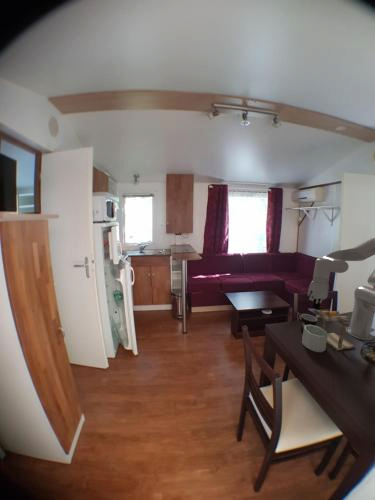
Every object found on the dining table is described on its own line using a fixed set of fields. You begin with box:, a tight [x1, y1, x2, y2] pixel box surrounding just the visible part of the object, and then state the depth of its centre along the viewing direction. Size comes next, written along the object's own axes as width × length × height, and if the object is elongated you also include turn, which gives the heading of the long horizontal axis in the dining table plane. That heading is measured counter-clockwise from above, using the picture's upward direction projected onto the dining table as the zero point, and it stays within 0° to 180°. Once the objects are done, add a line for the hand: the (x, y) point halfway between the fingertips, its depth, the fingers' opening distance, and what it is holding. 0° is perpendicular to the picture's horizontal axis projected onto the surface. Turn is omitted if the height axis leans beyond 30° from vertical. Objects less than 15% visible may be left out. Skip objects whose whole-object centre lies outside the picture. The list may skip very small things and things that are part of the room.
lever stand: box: [321, 318, 355, 351], centre depth 108 cm, size 12×13×17 cm
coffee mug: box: [297, 313, 318, 333], centre depth 120 cm, size 12×9×10 cm
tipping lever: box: [307, 308, 351, 328], centre depth 108 cm, size 17×14×6 cm
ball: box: [329, 310, 337, 316], centre depth 105 cm, size 4×4×4 cm
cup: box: [301, 325, 328, 353], centre depth 106 cm, size 11×11×10 cm
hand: (315, 308), depth 111 cm, fingers closed
